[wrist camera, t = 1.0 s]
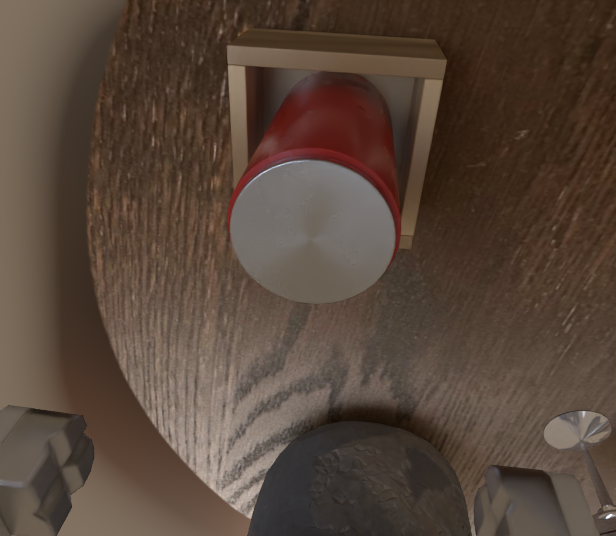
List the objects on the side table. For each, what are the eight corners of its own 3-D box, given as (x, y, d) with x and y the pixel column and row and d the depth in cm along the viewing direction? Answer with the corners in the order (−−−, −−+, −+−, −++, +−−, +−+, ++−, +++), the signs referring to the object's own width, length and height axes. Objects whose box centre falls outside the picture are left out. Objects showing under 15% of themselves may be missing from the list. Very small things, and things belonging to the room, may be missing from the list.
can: (277, 65, 25) (217, 145, 15) (399, 73, 24) (416, 162, 15) (277, 178, 28) (228, 300, 19) (383, 187, 28) (388, 316, 18)
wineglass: (641, 410, 36) (739, 586, 27) (601, 463, 40) (675, 633, 31) (550, 396, 37) (614, 565, 27) (519, 450, 41) (566, 615, 31)
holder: (249, 27, 25) (226, 45, 21) (435, 39, 24) (447, 59, 20) (254, 194, 30) (235, 233, 26) (406, 207, 29) (411, 249, 25)
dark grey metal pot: (249, 479, 48) (205, 669, 35) (268, 353, 38) (216, 557, 25) (426, 514, 48) (445, 716, 35) (494, 398, 37) (552, 624, 25)
